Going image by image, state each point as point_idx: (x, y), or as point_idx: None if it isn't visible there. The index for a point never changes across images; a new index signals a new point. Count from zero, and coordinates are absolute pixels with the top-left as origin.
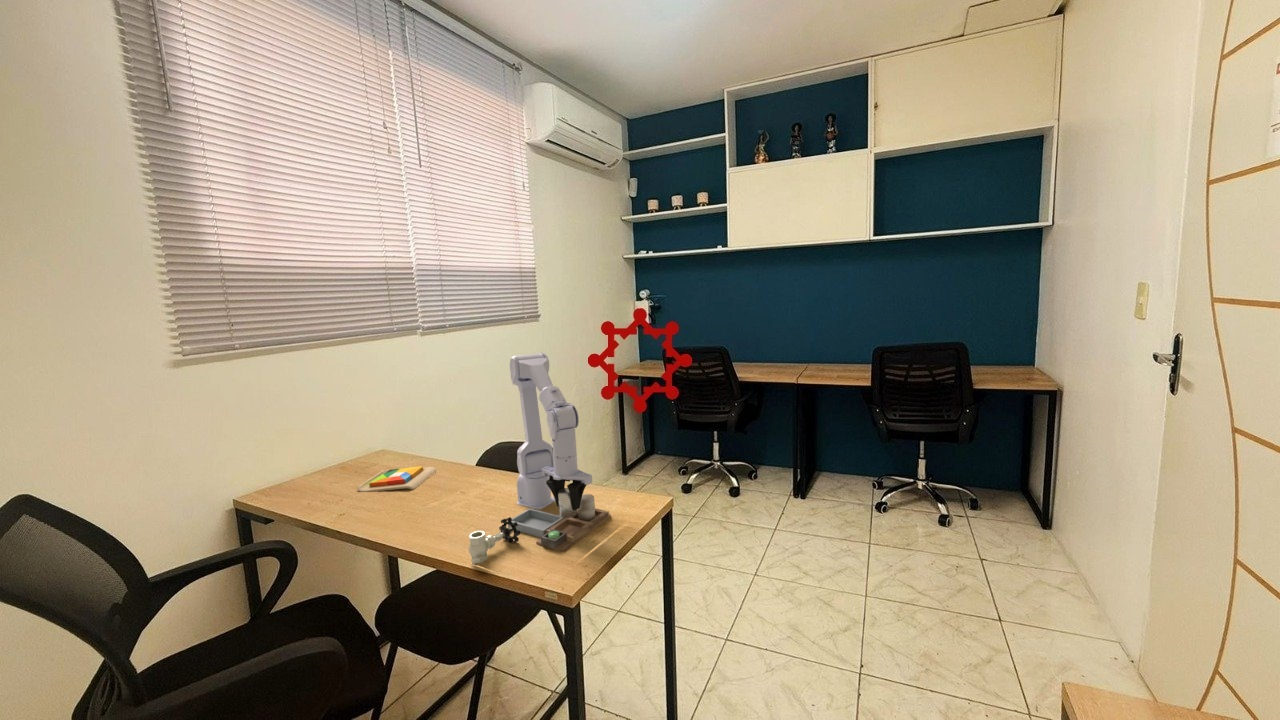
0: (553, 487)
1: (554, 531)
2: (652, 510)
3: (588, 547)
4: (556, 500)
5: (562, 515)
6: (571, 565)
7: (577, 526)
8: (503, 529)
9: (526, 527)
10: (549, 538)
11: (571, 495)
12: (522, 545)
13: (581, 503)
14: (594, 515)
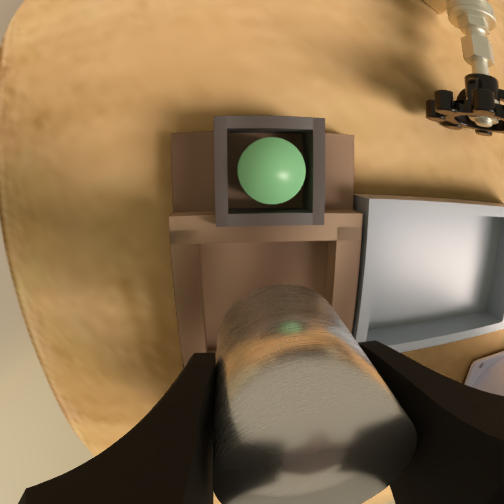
0: (485, 428)
1: (287, 194)
2: None
3: (110, 237)
4: (395, 360)
5: (285, 289)
6: (85, 87)
7: None
8: (497, 86)
9: (457, 202)
10: (267, 126)
11: (175, 441)
12: (399, 115)
13: None
14: None
